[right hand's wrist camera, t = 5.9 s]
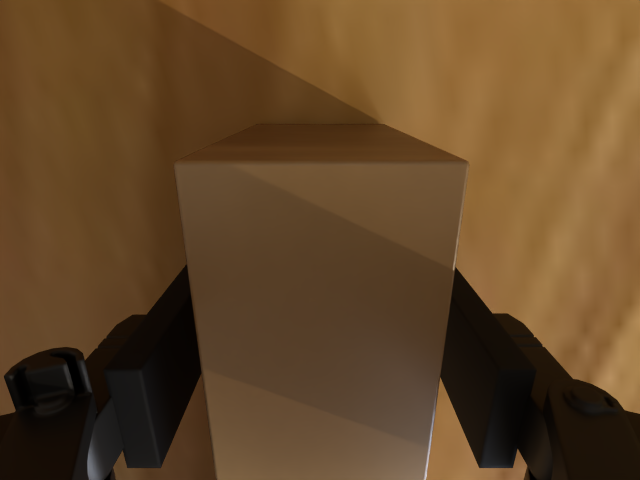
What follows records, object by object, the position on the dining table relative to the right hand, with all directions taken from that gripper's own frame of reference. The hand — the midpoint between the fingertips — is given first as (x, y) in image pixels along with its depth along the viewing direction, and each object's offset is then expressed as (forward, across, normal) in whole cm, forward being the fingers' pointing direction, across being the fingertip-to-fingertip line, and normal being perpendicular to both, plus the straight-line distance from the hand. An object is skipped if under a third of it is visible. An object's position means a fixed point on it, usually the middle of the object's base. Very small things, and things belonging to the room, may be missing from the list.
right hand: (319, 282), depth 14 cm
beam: (+1, 0, -34) cm, 34 cm away
